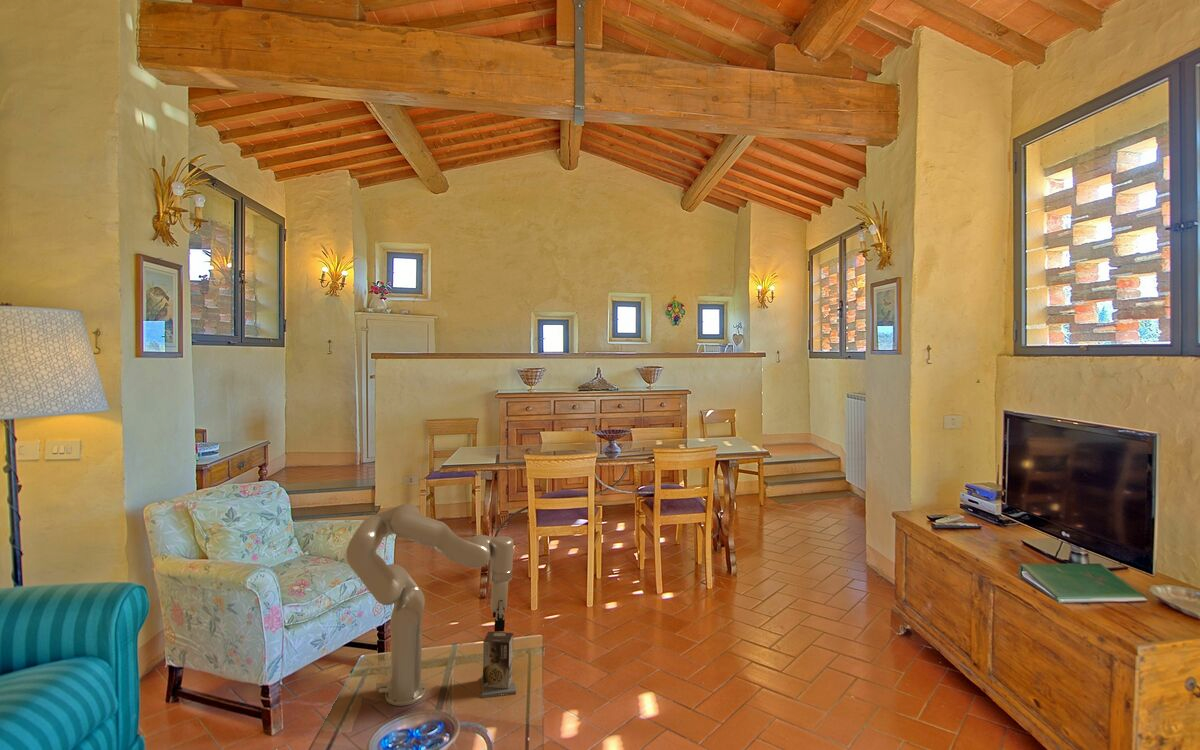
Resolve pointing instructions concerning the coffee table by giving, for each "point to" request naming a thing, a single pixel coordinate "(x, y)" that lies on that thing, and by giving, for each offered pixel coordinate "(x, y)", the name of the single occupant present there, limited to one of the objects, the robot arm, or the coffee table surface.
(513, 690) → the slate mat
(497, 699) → the coffee table surface
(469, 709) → the coffee table surface
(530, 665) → the coffee table surface
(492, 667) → the coffee box
